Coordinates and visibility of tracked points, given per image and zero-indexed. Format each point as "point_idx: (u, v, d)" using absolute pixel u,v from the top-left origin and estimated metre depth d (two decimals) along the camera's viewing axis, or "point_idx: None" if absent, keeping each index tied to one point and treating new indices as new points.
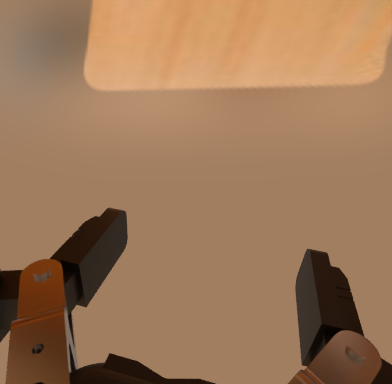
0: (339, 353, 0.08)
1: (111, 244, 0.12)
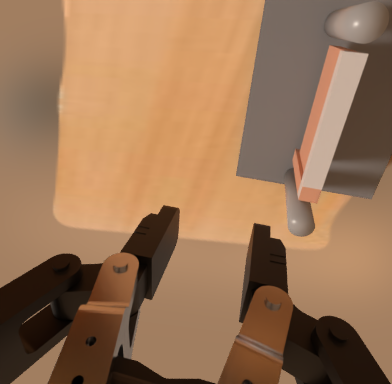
0: (261, 308, 0.09)
1: (169, 240, 0.13)
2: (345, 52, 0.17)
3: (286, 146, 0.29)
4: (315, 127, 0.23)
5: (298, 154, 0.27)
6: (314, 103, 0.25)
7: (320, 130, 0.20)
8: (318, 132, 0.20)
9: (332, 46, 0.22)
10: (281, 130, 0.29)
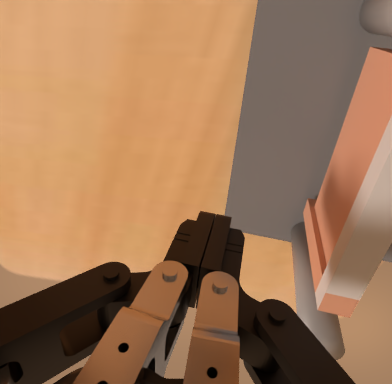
0: (210, 294, 0.09)
1: None
2: None
3: (294, 193, 0.20)
4: (346, 187, 0.13)
5: (313, 210, 0.18)
6: (341, 139, 0.16)
7: (364, 211, 0.10)
8: (359, 213, 0.11)
9: (379, 49, 0.13)
10: (287, 171, 0.19)
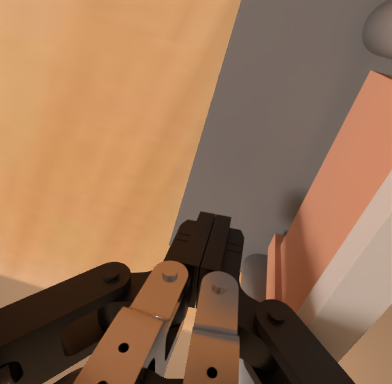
0: (210, 295, 0.09)
1: None
2: None
3: (254, 221, 0.17)
4: (319, 240, 0.11)
5: (278, 250, 0.16)
6: (321, 176, 0.13)
7: (336, 291, 0.08)
8: (330, 290, 0.08)
9: (382, 75, 0.10)
10: (250, 195, 0.17)
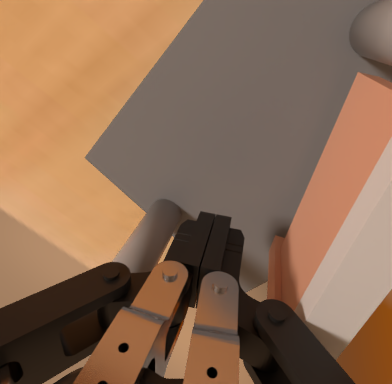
0: (210, 295, 0.09)
1: None
2: None
3: (179, 166, 0.17)
4: (313, 241, 0.11)
5: (278, 252, 0.16)
6: (315, 177, 0.13)
7: (327, 290, 0.08)
8: (321, 290, 0.08)
9: (367, 77, 0.10)
10: (187, 139, 0.16)
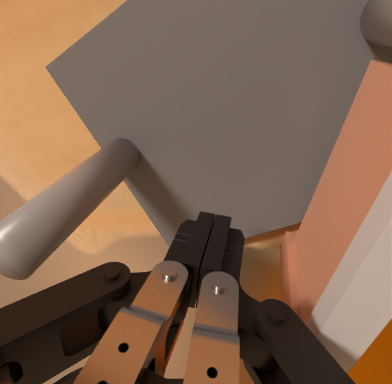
0: (210, 295, 0.09)
1: None
2: None
3: (151, 107, 0.15)
4: (331, 235, 0.11)
5: (291, 248, 0.15)
6: (328, 170, 0.13)
7: (351, 285, 0.08)
8: (345, 285, 0.08)
9: (382, 64, 0.10)
10: (167, 77, 0.14)
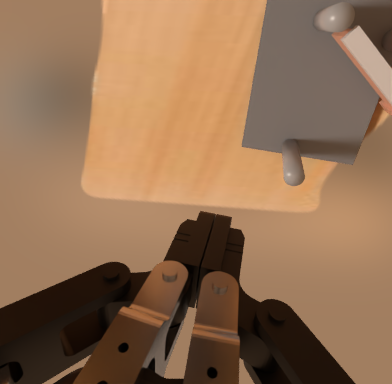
0: (210, 295, 0.09)
1: None
2: (344, 39, 0.23)
3: (283, 120, 0.36)
4: None
5: (384, 104, 0.31)
6: (359, 69, 0.30)
7: (378, 84, 0.24)
8: (378, 86, 0.25)
9: (333, 35, 0.28)
10: (279, 106, 0.35)
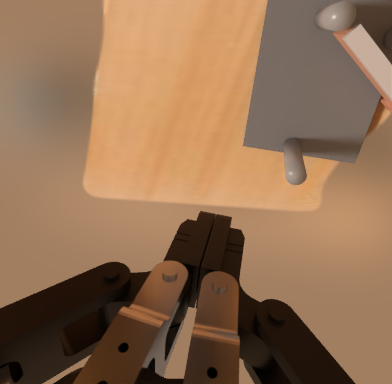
0: (210, 295, 0.09)
1: None
2: (345, 37, 0.23)
3: (284, 119, 0.36)
4: None
5: (386, 102, 0.31)
6: (360, 67, 0.30)
7: (380, 82, 0.24)
8: (380, 84, 0.25)
9: (335, 34, 0.28)
10: (281, 105, 0.35)
